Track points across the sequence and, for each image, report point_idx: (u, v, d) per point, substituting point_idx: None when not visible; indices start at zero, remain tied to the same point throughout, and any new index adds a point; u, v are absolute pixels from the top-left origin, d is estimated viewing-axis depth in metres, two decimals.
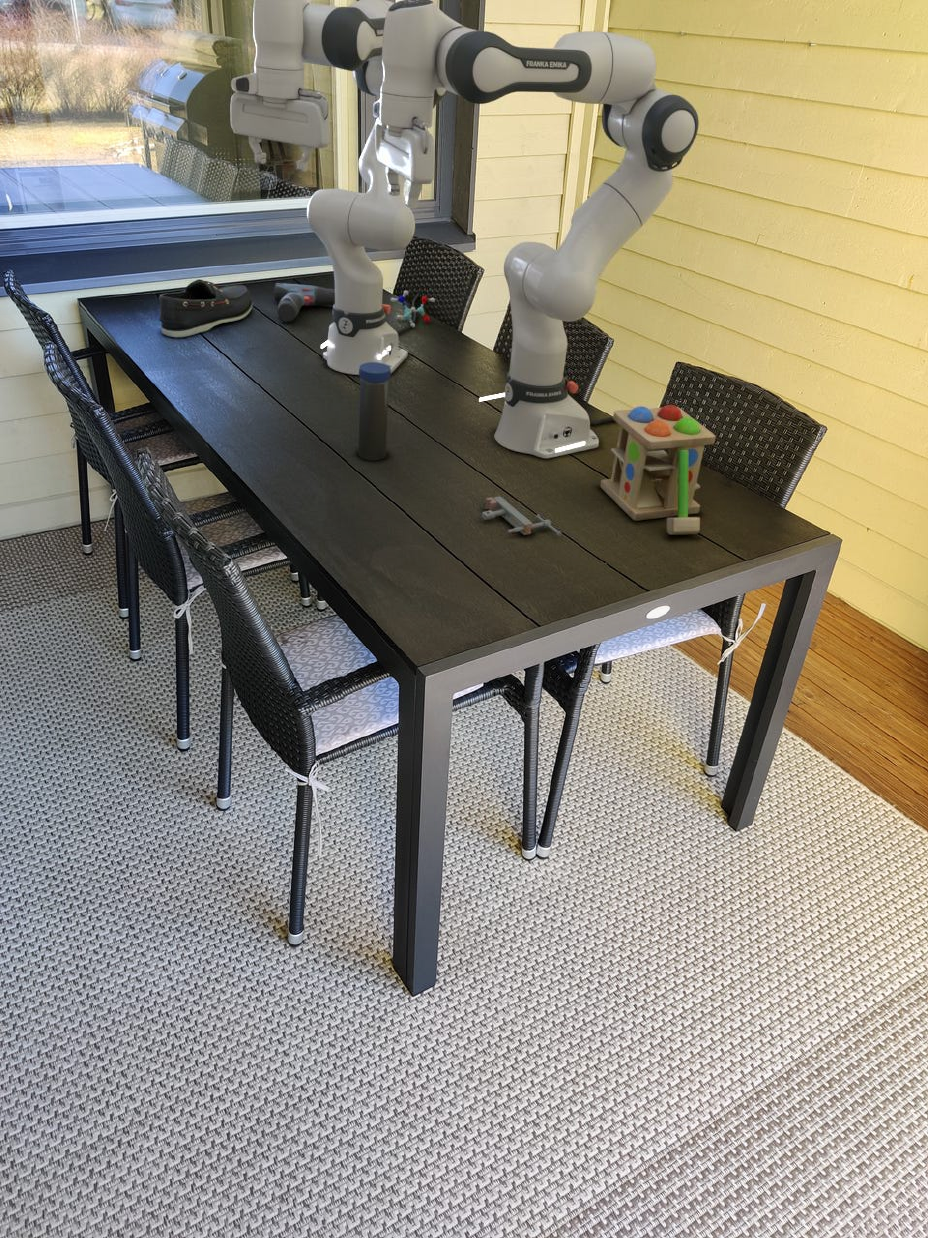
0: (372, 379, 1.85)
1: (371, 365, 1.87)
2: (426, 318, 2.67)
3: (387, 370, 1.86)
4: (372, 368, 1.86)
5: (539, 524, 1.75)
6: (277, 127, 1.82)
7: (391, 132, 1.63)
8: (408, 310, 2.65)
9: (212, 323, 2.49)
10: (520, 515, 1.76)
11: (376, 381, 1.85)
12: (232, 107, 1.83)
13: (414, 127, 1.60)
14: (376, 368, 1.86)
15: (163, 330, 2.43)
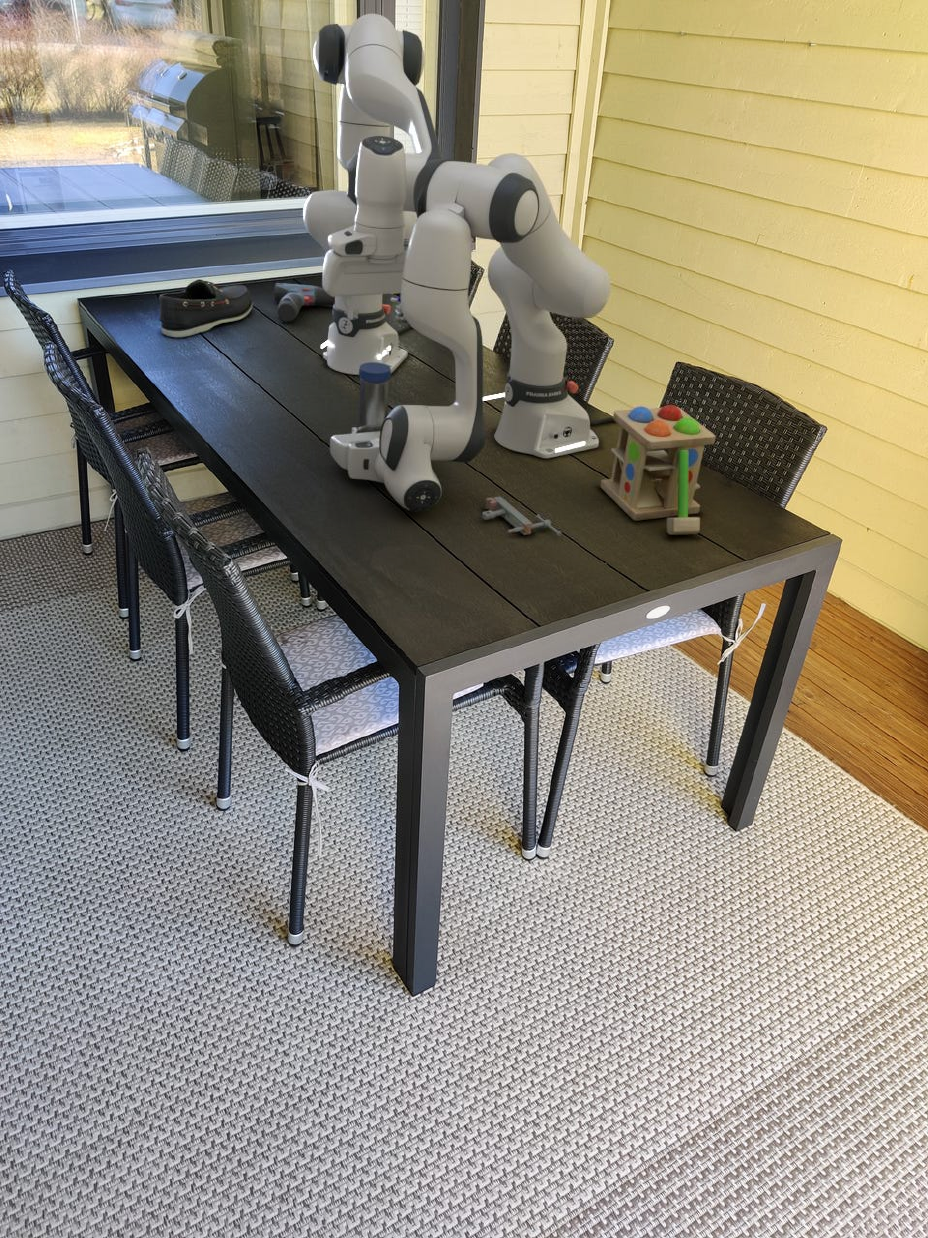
0: (372, 379, 1.85)
1: (371, 365, 1.87)
2: None
3: (387, 370, 1.86)
4: (372, 368, 1.86)
5: (539, 524, 1.75)
6: (384, 281, 1.76)
7: None
8: None
9: (212, 323, 2.49)
10: (520, 515, 1.76)
11: (376, 381, 1.85)
12: (334, 271, 1.71)
13: None
14: (376, 368, 1.86)
15: (163, 330, 2.43)
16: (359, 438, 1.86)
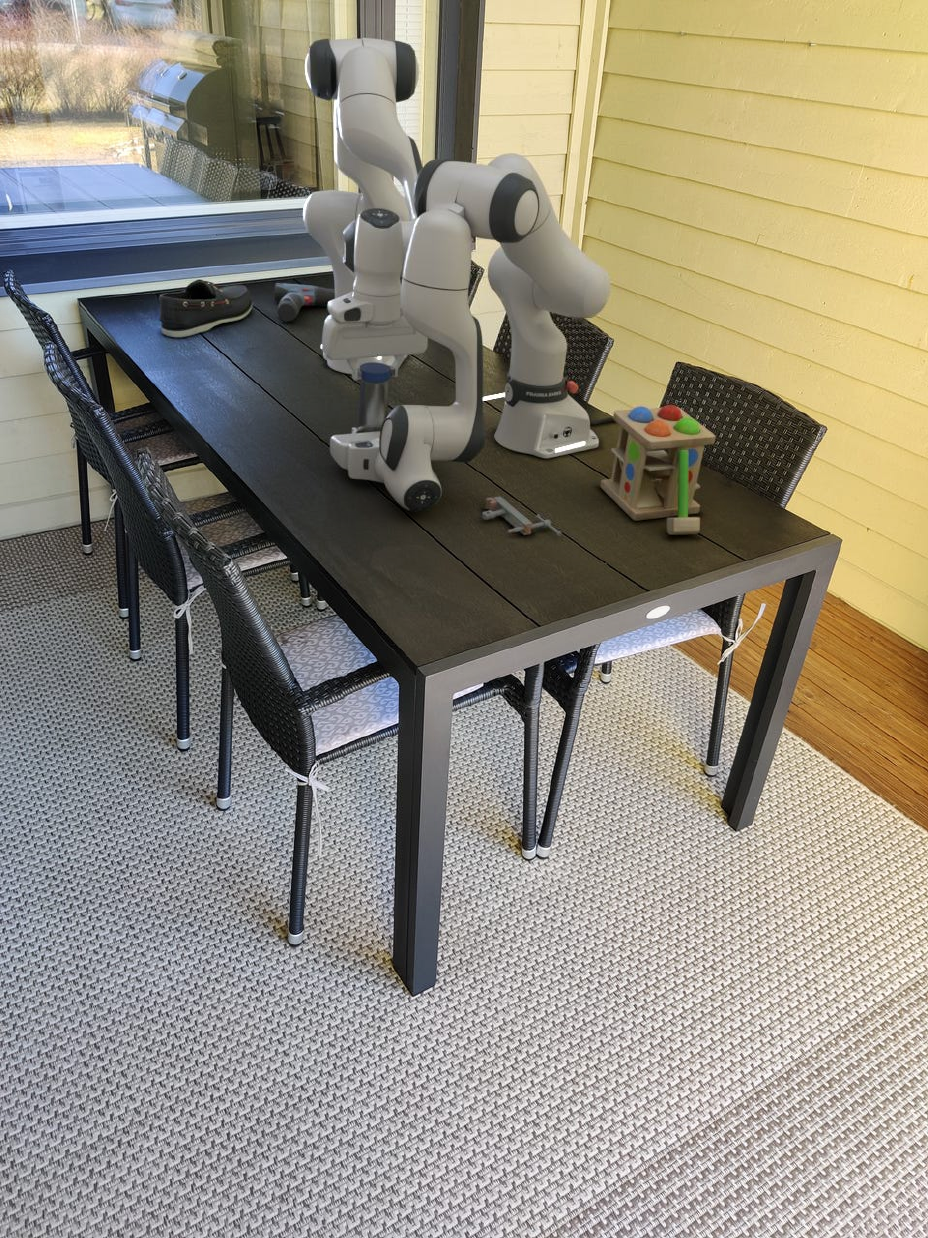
0: (372, 379, 1.85)
1: (371, 365, 1.87)
2: None
3: (387, 370, 1.86)
4: (372, 368, 1.86)
5: (539, 524, 1.75)
6: (381, 344, 1.83)
7: None
8: None
9: (212, 323, 2.49)
10: (520, 515, 1.76)
11: (376, 381, 1.85)
12: (333, 337, 1.77)
13: None
14: (376, 368, 1.86)
15: (163, 330, 2.43)
16: (359, 438, 1.86)
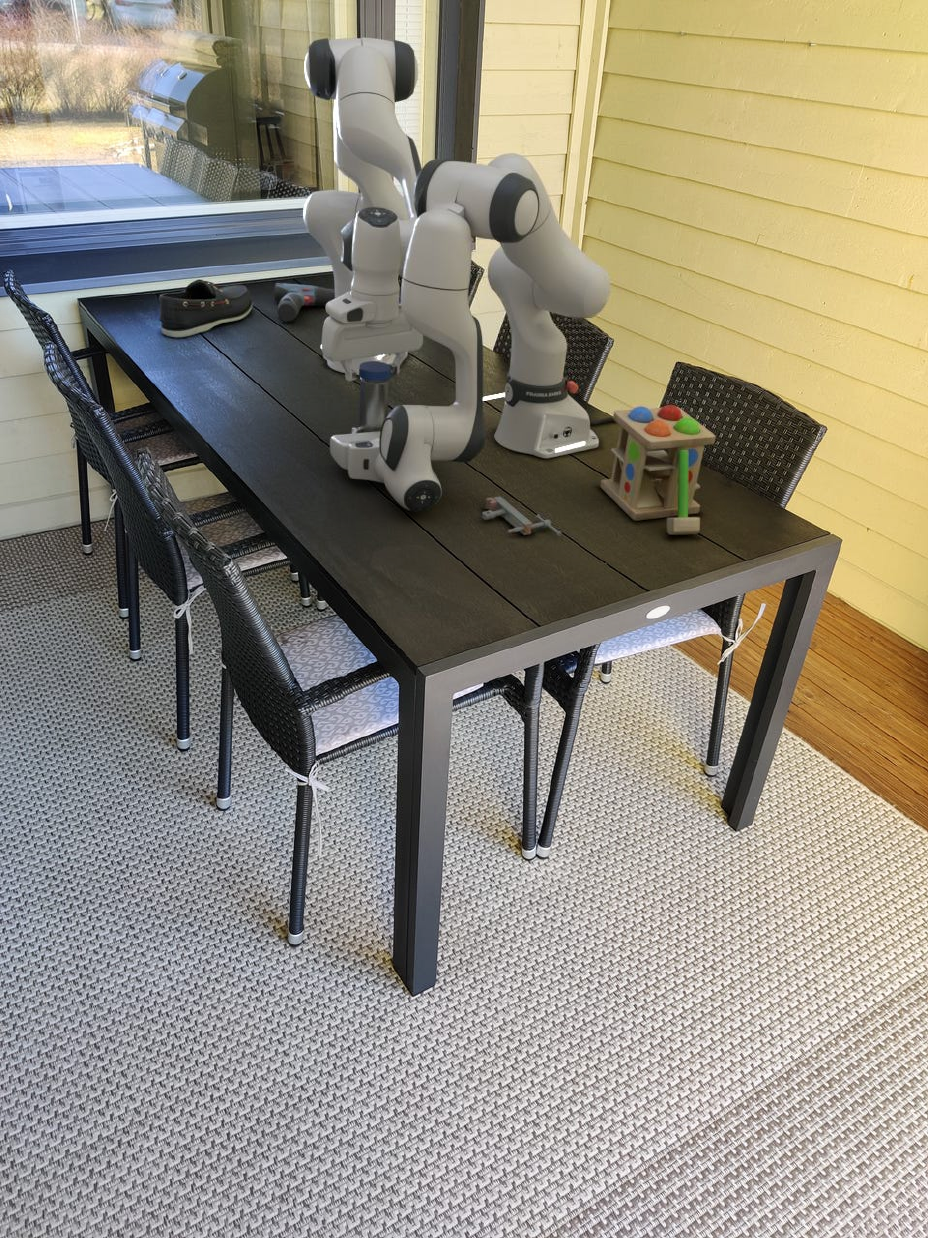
0: (388, 376, 1.86)
1: (369, 366, 1.86)
2: None
3: (384, 363, 1.88)
4: (376, 367, 1.86)
5: (539, 524, 1.75)
6: (381, 343, 1.83)
7: None
8: None
9: (212, 323, 2.49)
10: (520, 515, 1.76)
11: (390, 376, 1.87)
12: (336, 338, 1.76)
13: None
14: (377, 366, 1.87)
15: (163, 330, 2.43)
16: (359, 438, 1.86)
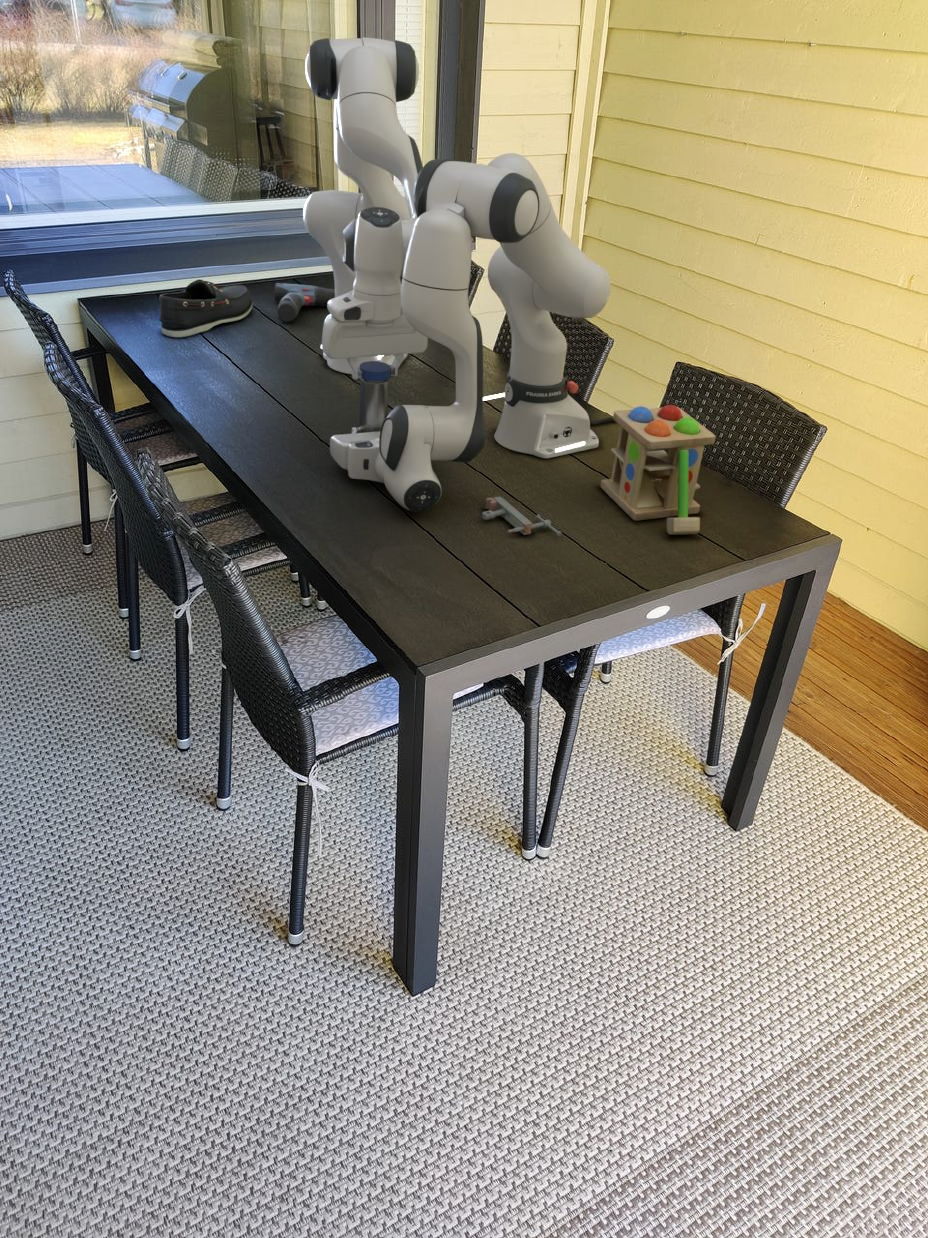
0: (388, 376, 1.86)
1: (369, 366, 1.86)
2: None
3: (384, 363, 1.88)
4: (376, 367, 1.86)
5: (539, 524, 1.75)
6: (381, 343, 1.83)
7: None
8: None
9: (212, 323, 2.49)
10: (520, 515, 1.76)
11: (390, 376, 1.87)
12: (333, 336, 1.77)
13: None
14: (377, 366, 1.87)
15: (163, 330, 2.43)
16: (359, 438, 1.86)
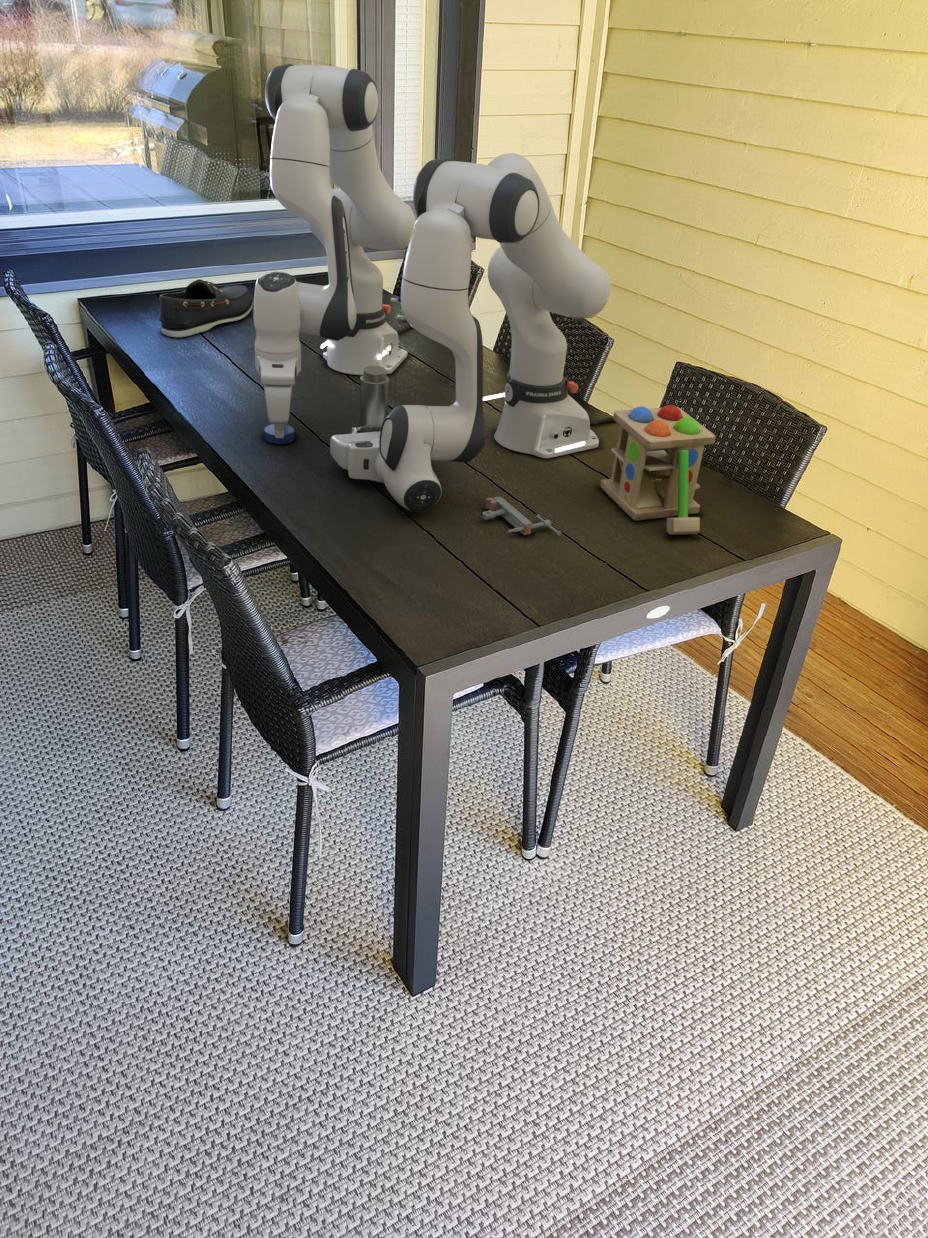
0: None
1: None
2: None
3: (273, 424, 2.00)
4: None
5: (539, 524, 1.75)
6: None
7: None
8: None
9: (212, 323, 2.49)
10: (520, 515, 1.76)
11: None
12: (290, 401, 1.87)
13: None
14: None
15: (163, 330, 2.43)
16: (359, 438, 1.86)
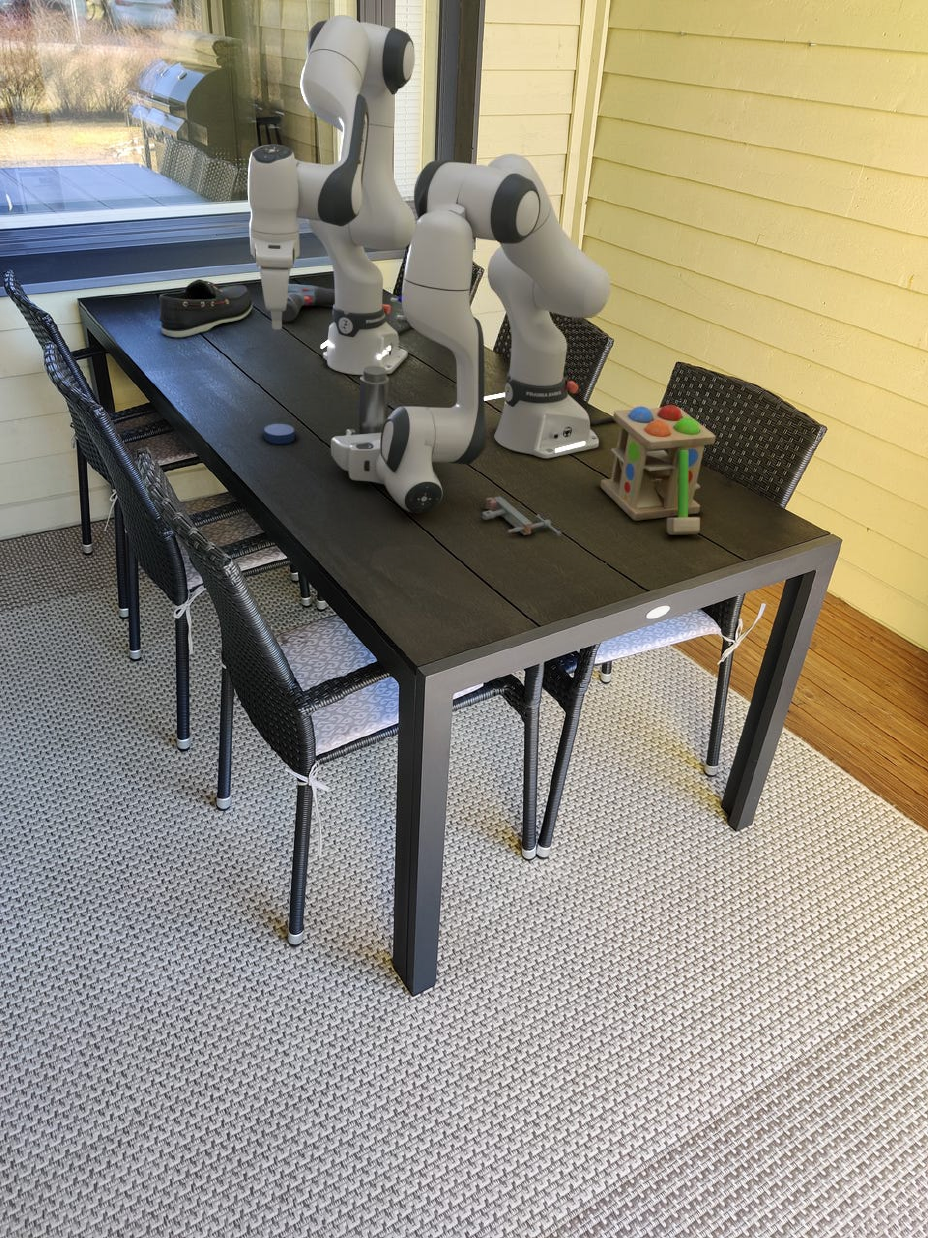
0: None
1: (279, 431, 1.98)
2: None
3: (273, 424, 2.00)
4: (282, 429, 1.99)
5: (539, 524, 1.75)
6: None
7: None
8: None
9: (212, 323, 2.49)
10: (520, 515, 1.76)
11: None
12: (288, 285, 1.75)
13: None
14: (279, 428, 1.99)
15: (163, 330, 2.43)
16: (359, 439, 1.86)
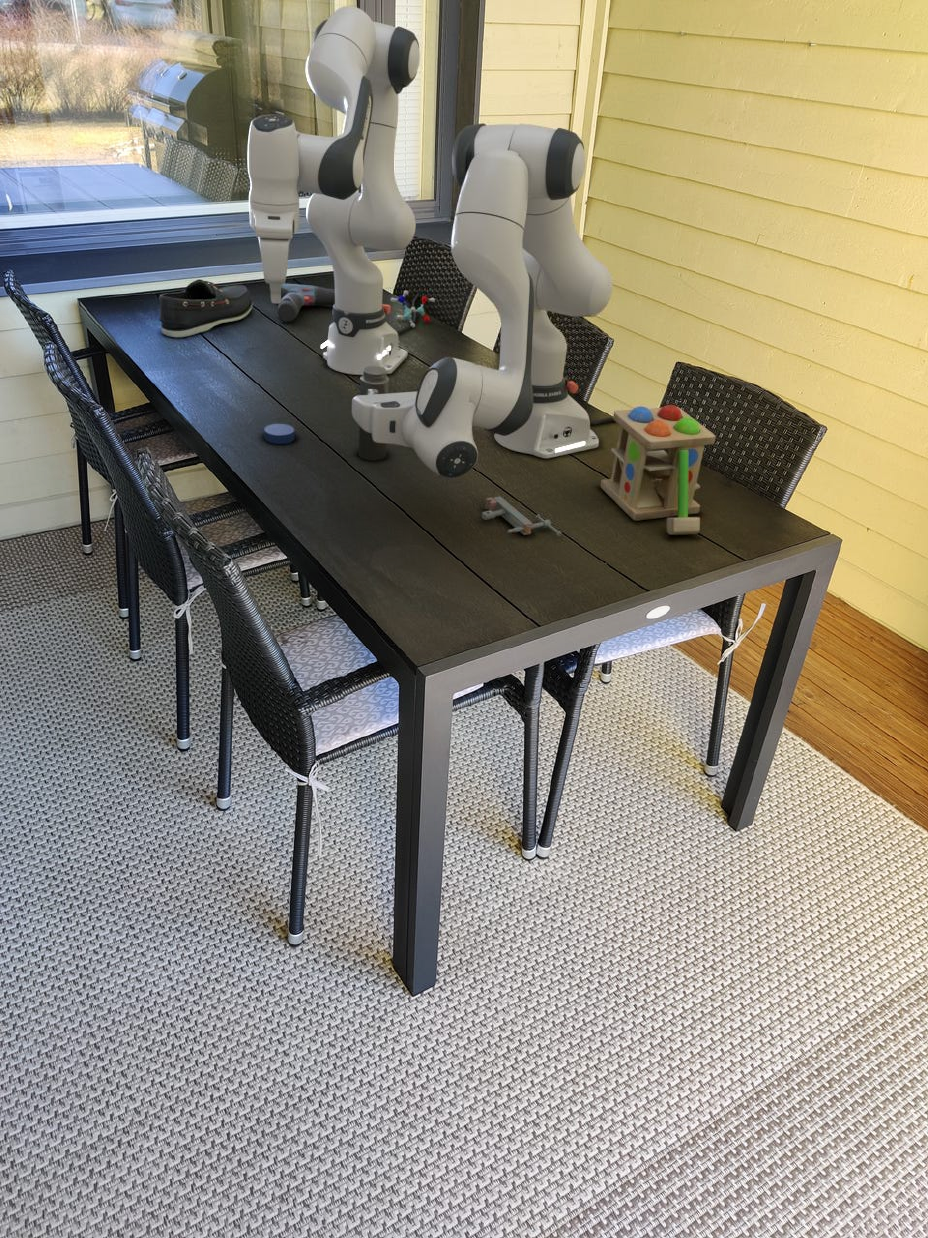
0: None
1: (279, 431, 1.98)
2: (426, 318, 2.67)
3: (273, 424, 2.00)
4: (282, 429, 1.99)
5: (539, 524, 1.75)
6: None
7: None
8: (408, 310, 2.65)
9: (212, 323, 2.49)
10: (520, 515, 1.76)
11: None
12: (287, 257, 1.72)
13: None
14: (279, 428, 1.99)
15: (163, 330, 2.43)
16: (383, 398, 1.69)
